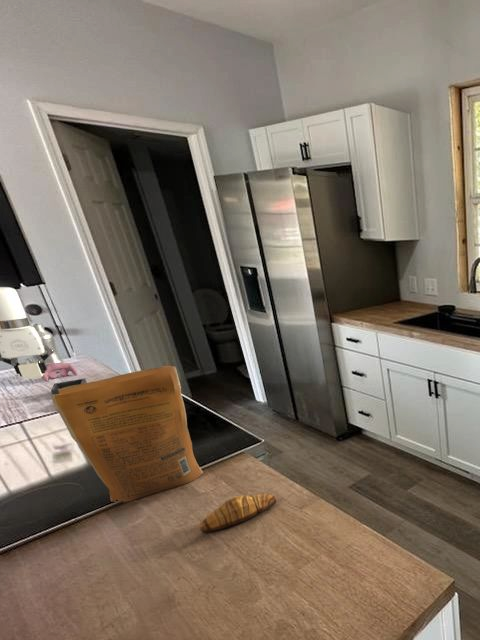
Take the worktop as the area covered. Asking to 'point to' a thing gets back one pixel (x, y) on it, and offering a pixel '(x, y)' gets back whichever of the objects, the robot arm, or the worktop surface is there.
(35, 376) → the charger head
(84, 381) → the adapter
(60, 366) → the video game controller
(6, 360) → the robot arm
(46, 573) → the worktop surface
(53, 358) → the plastic bottle
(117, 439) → the pancake mix bag
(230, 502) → the croissant
